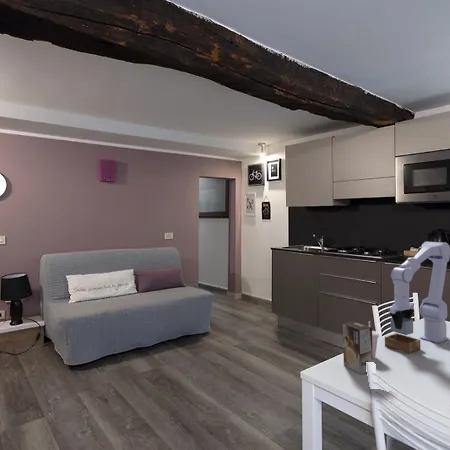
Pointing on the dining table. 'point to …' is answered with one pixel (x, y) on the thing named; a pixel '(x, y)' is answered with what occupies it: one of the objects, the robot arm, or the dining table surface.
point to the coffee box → (357, 346)
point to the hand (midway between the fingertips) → (402, 327)
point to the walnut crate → (402, 343)
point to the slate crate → (403, 326)
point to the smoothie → (374, 341)
